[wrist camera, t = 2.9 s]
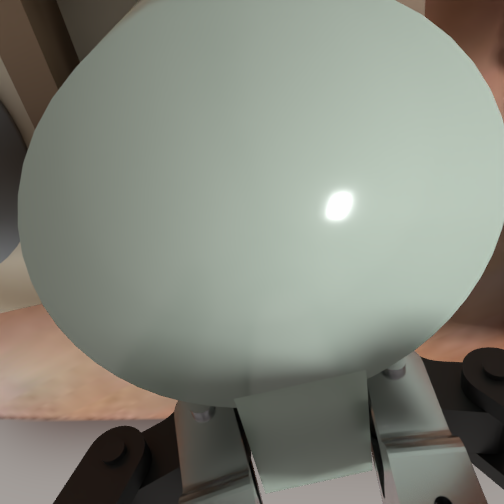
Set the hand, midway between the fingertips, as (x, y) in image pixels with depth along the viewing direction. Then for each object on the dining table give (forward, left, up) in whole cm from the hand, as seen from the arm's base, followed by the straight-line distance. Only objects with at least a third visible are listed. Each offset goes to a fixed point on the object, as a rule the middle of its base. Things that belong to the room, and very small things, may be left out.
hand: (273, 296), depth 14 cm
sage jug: (-4, 0, -5) cm, 6 cm away
